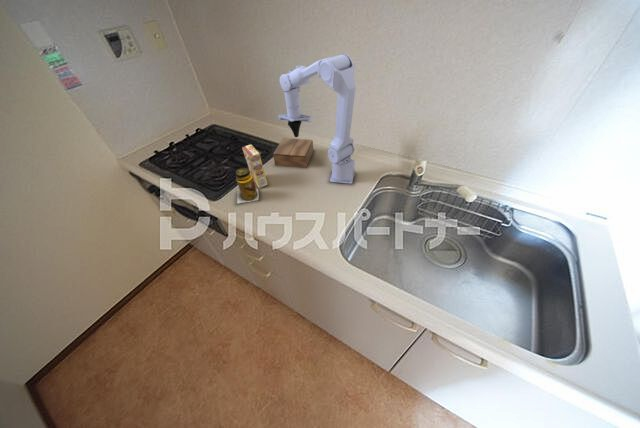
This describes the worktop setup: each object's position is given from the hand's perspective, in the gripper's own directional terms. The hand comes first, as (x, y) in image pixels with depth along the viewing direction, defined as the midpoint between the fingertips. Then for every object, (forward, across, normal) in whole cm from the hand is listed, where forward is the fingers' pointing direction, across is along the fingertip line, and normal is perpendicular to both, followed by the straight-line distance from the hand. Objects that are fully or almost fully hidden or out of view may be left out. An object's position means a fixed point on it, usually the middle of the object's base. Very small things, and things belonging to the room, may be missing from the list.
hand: (296, 136), depth 109 cm
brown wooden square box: (+10, -1, -2) cm, 11 cm away
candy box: (+11, -10, -23) cm, 27 cm away
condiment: (+11, -11, -33) cm, 36 cm away
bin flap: (+5, +2, -2) cm, 6 cm away
